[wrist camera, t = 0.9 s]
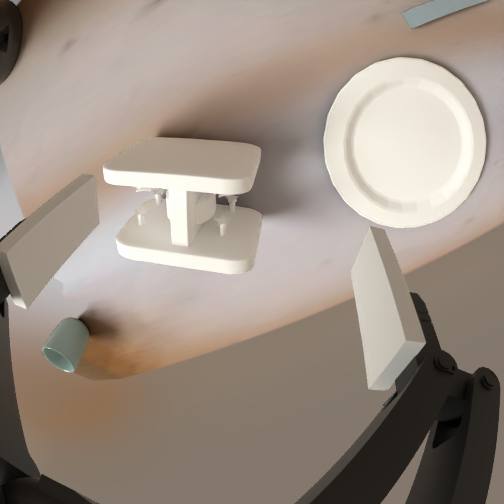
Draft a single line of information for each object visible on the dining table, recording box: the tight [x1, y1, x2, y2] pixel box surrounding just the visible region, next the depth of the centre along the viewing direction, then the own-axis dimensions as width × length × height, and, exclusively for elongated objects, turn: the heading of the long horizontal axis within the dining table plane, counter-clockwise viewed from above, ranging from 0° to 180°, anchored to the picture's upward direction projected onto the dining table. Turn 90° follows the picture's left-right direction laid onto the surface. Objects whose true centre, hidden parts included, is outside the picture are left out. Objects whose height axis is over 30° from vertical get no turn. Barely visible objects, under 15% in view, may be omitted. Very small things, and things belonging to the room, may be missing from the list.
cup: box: [42, 318, 89, 372], centre depth 55 cm, size 8×8×10 cm
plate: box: [323, 57, 487, 228], centre depth 31 cm, size 21×21×2 cm
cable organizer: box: [103, 137, 262, 274], centre depth 33 cm, size 15×11×12 cm
